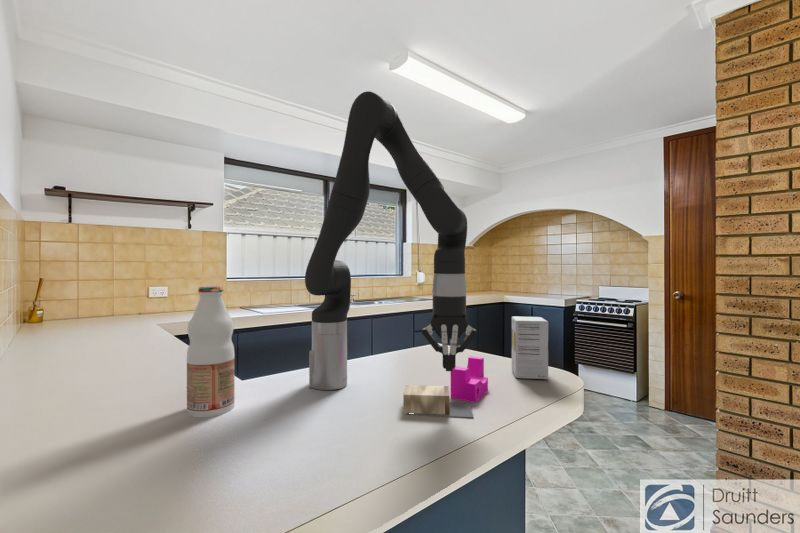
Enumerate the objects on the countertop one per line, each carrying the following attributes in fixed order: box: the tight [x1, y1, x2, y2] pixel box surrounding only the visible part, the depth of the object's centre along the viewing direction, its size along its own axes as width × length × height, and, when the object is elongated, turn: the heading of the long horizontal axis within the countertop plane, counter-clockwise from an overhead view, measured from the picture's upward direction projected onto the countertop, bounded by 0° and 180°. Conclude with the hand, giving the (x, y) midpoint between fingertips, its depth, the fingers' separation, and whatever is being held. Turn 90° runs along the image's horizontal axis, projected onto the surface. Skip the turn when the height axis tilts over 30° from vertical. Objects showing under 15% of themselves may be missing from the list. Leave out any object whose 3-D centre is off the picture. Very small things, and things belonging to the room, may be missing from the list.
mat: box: [406, 401, 475, 419], centre depth 88 cm, size 16×9×1 cm, turn 85°
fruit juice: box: [186, 286, 236, 418], centre depth 85 cm, size 9×9×28 cm
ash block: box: [402, 384, 451, 414], centre depth 88 cm, size 4×7×10 cm
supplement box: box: [511, 315, 549, 380], centre depth 116 cm, size 10×9×17 cm
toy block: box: [450, 355, 489, 403], centre depth 101 cm, size 15×6×8 cm, turn 151°
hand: (449, 370), depth 88 cm, fingers closed
